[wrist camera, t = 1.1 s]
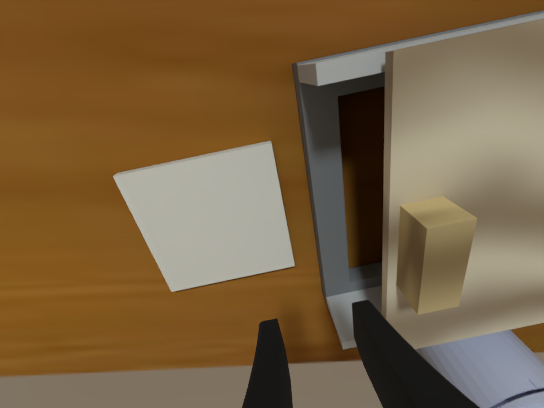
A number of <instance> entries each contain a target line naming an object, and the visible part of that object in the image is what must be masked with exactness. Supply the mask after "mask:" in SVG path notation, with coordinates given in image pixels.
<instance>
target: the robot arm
mask: <svg viewBox="0 0 544 408" xmlns="http://www.w3.org/2000/svg"><path fill="white" fill-rule="evenodd" d="M352 316H353V332H354V339H355V342H356V345H357V348H358V351H359V354H360V356H361V359H362V362H363V365H364V367H365V369H366V372H367V374H368V376H369V378H370V380H371V382H372V384H373V387H374V389H375V391H376V393H377V395H378V398H379V400H380V402H381V404H382V406H383V408H544V363H543V362H542V361H541V360H540V359H539V358H538V357H537V356H536V355H535V354H534V353H533V352H532V351H531V350H530V349H529V348H528V347H527V346H526V345H525V344H524V343H523V342H522V341H521V340H520V339H519V338H518V337H517V336H516V335H515V334H514V333H513V332H512V331H511V330H505V331H500V332H496V333H491V334H486V335H481V336H476V337H472V338H467V339H462V340H457V341H452V342H447V343H443V344H438V345H433V346H428V347H423V348H419V349H414V348H413V347H412V346H411V345H410V344H409V343H408V342H407V341H406V340H405V339H404V338H403V337H402V336H401V335H400V334H399V333H398V332H397V331H396V330H395V329H394V328H393V326H392V325H391V324H390V323H389V322H388V321H387V320H386V319H385V318H384V317H383V316H382V314H381V313H380V312H379V311H378V310H377V309H376V307H375V306H374V305H373V304H372V303H371V301H369V300H363V301H358V302H354V303H352ZM242 408H293V404H292V392H291V380H290V374H289V368H288V362H287V356H286V350H285V346H284V343H283V339H282V335H281V331H280V328H279V324H278V320H277V319H272V320H267V321H262V322H261V323H260V324H259V333H258V340H257V347H256V352H255V357H254V362H253V367H252V371H251V376H250V380H249V384H248V388H247V392H246V396H245V399H244V403H243V406H242Z"/></svg>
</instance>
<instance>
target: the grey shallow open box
mask: <svg viewBox="0 0 544 408" xmlns="http://www.w3.org/2000/svg"><path fill="white" fill-rule="evenodd" d="M543 18H544V10H543V11H538V12H534V13H529V14H524V15H520V16H515V17H510V18H505V19H501V20H496V21H491V22H487V23H482V24H477V25H473V26H468V27H463V28H458V29H454V30H449V31H444V32H440V33H435V34H430V35H425V36H421V37H416V38H411V39H407V40H402V41H397V42H393V43H388V44H383V45H378V46H374V47H369V48H364V49H360V50H355V51H350V52H345V53H341V54H336V55H331V56H327V57H322V58H317V59H313V60H308V61H303V62H298V63H294V64H292V67H293V74H294V82H295V89H296V97H297V104H298V112H299V119H300V127H301V134H302V142H303V149H304V157H305V164H306V172H307V179H308V187H309V194H310V202H311V209H312V217H313V224H314V232H315V239H316V247H317V254H318V262H319V269H320V277H321V284H322V291H323V294H324V297H325V300H326V303H327V305H328V308H329V311H330V314H331V317H332V319H333V322H334V325H335V328H336V331H337V334H338V336H339V339H340V342H341V345H342V348H343V350H344V349H349V348H353V347H357V345H356V342H355V339H354V332H353V316H352V303H354V302H358V301H363V300H369V301H371V303H372V304H373V305H374V306H375V307H376V309H377V310H378V311H379V312H380V313H381V314H382V262H377V263H373V264H368V265H363V266H358V267H353V268H349V265H348V250H347V234H346V219H345V203H344V188H343V172H342V156H341V141H340V125H339V110H338V96H341V95H346V94H351V93H356V92H360V91H365V90H370V89H374V88H379V87H384V86H385V52H388V51H392V50H397V49H402V48H406V47H411V46H416V45H421V44H425V43H430V42H435V41H439V40H444V39H449V38H453V37H458V36H463V35H468V34H472V33H477V32H482V31H486V30H491V29H496V28H501V27H505V26H510V25H515V24H519V23H524V22H529V21H534V20H538V19H543Z"/></svg>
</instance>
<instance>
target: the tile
mask: <svg viewBox="0 0 544 408" xmlns="http://www.w3.org/2000/svg"><path fill="white" fill-rule="evenodd" d="M113 178H114V180H115V182H116V184H117V186H118V188H119V190H120V192H121V194H122V196H123V198H124V200H125V201H126V203H127V205H128V207H129V209H130V211H131V213H132V215H133V217H134V219H135V221H136V223H137V225H138V227H139V229H140V231H141V233H142V235H143V237H144V239H145V241H146V243H147V245H148V247H149V249H150V251H151V253H152V255H153V256H154V258H155V260H156V262H157V264H158V266H159V268H160V270H161V272H162V274H163V276H164V278H165V280H166V282H167V284H168V286H169V288H170V290H171V292H174V291H178V290H183V289H188V288H193V287H198V286H202V285H207V284H212V283H217V282H221V281H226V280H231V279H236V278H241V277H245V276H250V275H255V274H260V273H264V272H269V271H274V270H279V269H284V268H288V267H293V266H295V264H294V259H293V253H292V248H291V243H290V238H289V232H288V227H287V222H286V217H285V211H284V206H283V201H282V196H281V190H280V185H279V180H278V174H277V169H276V164H275V159H274V153H273V148H272V143H271V141H267V142H262V143H257V144H252V145H248V146H243V147H238V148H233V149H229V150H224V151H219V152H215V153H210V154H205V155H200V156H196V157H191V158H186V159H181V160H177V161H172V162H167V163H162V164H158V165H153V166H148V167H144V168H139V169H134V170H129V171H125V172H120V173H117V174H115V175H114V176H113Z"/></svg>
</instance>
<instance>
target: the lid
mask: <svg viewBox="0 0 544 408" xmlns="http://www.w3.org/2000/svg"><path fill="white" fill-rule="evenodd" d="M382 316H383V317H384V318H385V319H386V320H387V321H388V322H389V323H390V324H391V325H392V326H393V328H394V329H395V330H396V331H397V332H398V333H399V334H400V335H401V336H402V337H403V338H404V339H405V340H406V341H407V342H408V343H409V344H410V345H411V346H412V347H413V348H414V349H419V348H423V347H428V346H433V345H438V344H443V343H447V342H452V341H457V340H462V339H467V338H472V337H476V336H481V335H486V334H491V333H496V332H500V331H505V330H510V329H515V328H520V327H524V326H529V325H534V324H539V323H544V18H543V19H538V20H534V21H529V22H524V23H519V24H515V25H510V26H505V27H501V28H496V29H491V30H486V31H482V32H477V33H472V34H468V35H463V36H458V37H453V38H449V39H444V40H439V41H435V42H430V43H425V44H421V45H416V46H411V47H406V48H402V49H397V50H392V51H388V52H385V114H384V183H383V252H382Z"/></svg>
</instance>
